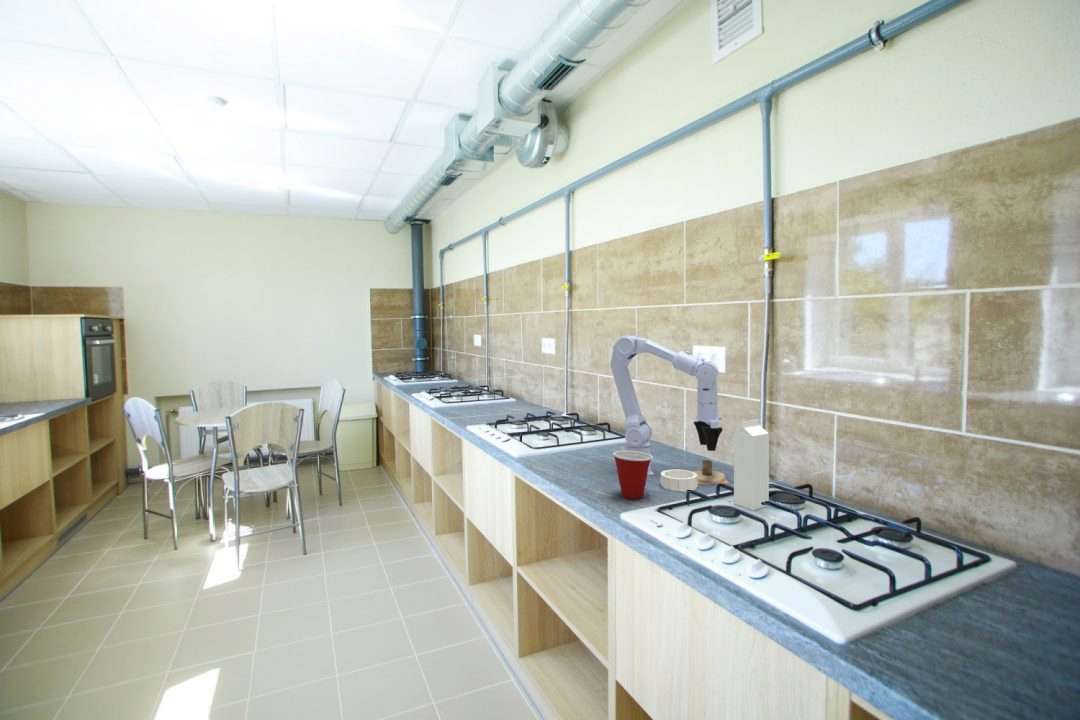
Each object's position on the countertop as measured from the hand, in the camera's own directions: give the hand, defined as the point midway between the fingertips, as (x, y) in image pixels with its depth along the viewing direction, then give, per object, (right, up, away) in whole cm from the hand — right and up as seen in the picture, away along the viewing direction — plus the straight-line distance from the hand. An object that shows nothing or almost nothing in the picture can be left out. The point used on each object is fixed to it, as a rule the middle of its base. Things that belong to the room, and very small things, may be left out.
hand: (707, 447), depth 153 cm
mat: (0, -10, 0) cm, 10 cm away
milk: (+4, -11, -22) cm, 25 cm away
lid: (0, -9, 0) cm, 9 cm away
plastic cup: (-25, -12, -13) cm, 30 cm away
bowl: (-10, -11, -6) cm, 16 cm away
